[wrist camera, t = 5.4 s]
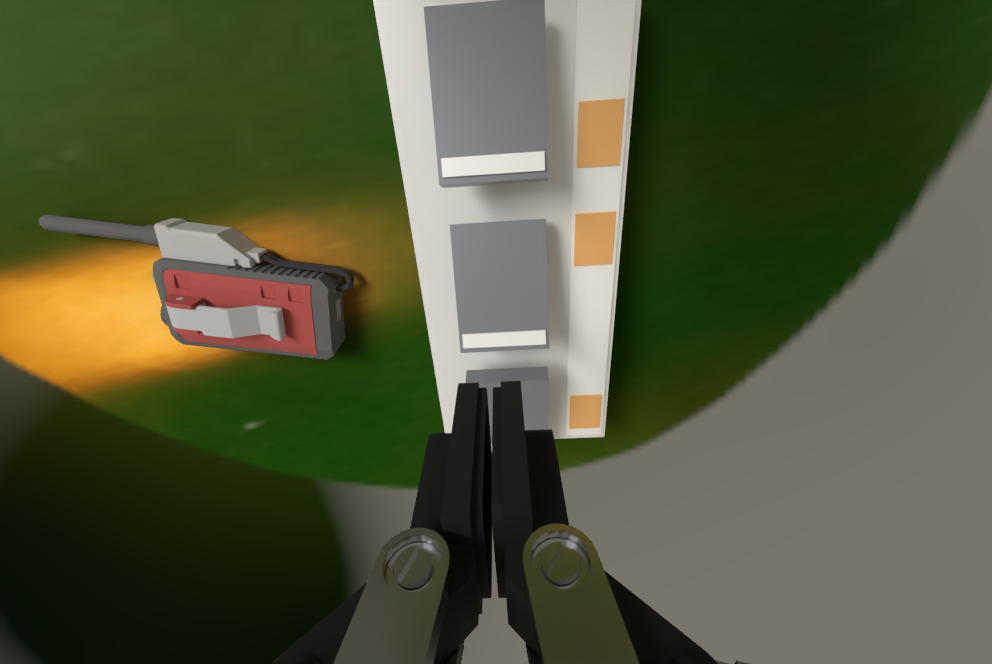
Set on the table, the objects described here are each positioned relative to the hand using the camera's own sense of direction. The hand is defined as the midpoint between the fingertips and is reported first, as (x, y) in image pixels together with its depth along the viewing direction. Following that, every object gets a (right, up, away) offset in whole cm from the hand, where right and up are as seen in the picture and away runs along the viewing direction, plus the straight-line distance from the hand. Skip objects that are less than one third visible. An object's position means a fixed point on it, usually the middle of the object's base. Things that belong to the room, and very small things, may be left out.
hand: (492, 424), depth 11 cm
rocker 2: (0, +5, +11) cm, 12 cm away
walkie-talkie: (-20, +6, +19) cm, 28 cm away
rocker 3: (+1, -3, +15) cm, 16 cm away
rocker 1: (0, +13, +7) cm, 15 cm away
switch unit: (+1, +8, +17) cm, 19 cm away
